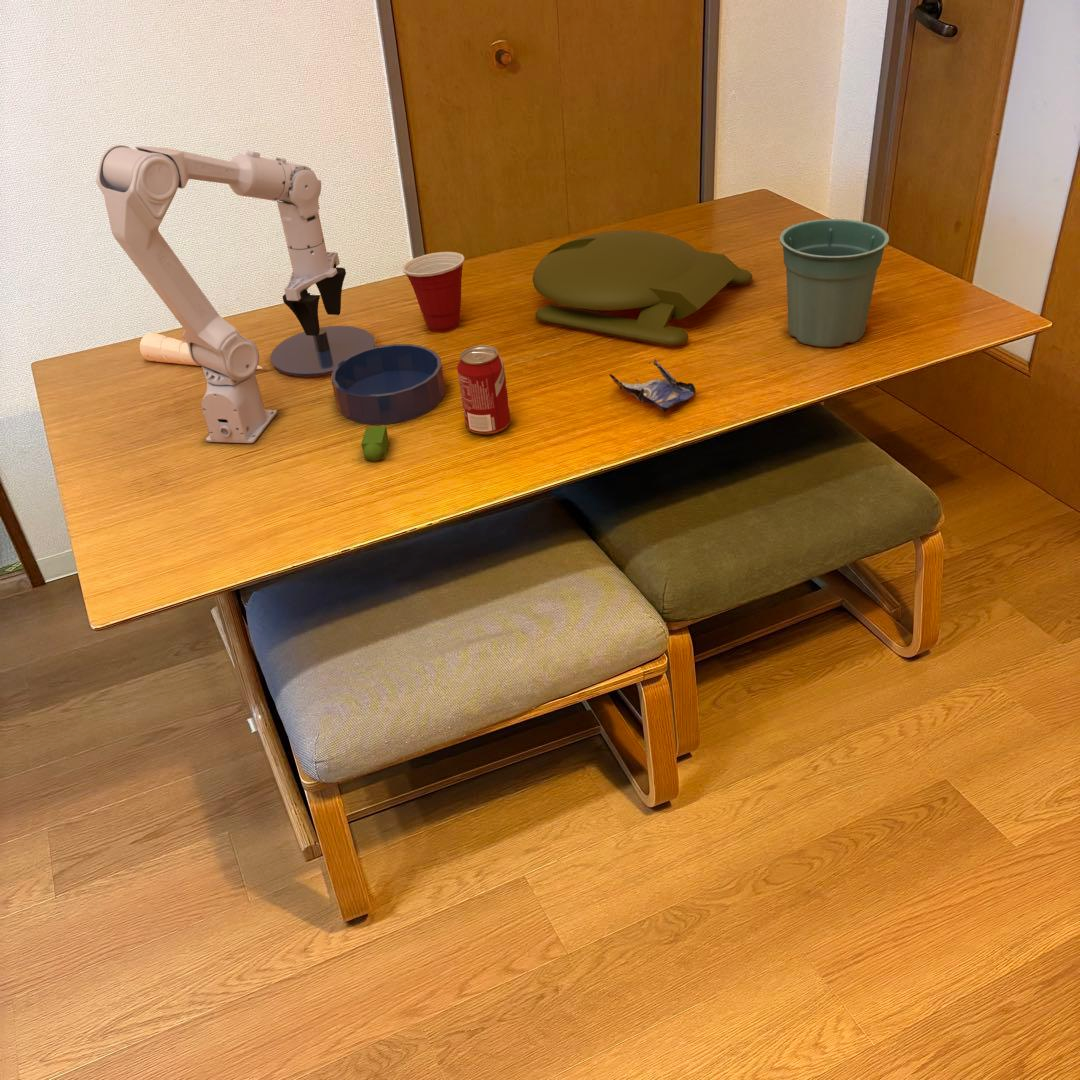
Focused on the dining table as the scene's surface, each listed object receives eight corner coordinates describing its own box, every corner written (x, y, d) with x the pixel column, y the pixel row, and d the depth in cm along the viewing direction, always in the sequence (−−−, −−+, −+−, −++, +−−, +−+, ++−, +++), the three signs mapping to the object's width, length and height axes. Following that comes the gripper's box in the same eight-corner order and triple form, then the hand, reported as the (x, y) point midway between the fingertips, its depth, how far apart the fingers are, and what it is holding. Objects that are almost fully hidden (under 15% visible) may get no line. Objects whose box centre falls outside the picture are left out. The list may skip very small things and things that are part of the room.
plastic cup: (446, 306, 199) (436, 243, 192) (485, 321, 193) (477, 256, 186) (400, 328, 194) (388, 264, 186) (439, 344, 187) (428, 278, 180)
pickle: (383, 463, 157) (380, 447, 155) (363, 465, 157) (359, 448, 156) (390, 437, 163) (387, 421, 161) (370, 438, 163) (367, 422, 161)
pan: (427, 426, 165) (422, 397, 162) (321, 423, 168) (315, 394, 165) (457, 372, 178) (453, 344, 175) (359, 370, 182) (353, 343, 179)
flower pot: (826, 301, 187) (833, 209, 178) (901, 332, 175) (912, 235, 166) (754, 331, 180) (757, 237, 171) (826, 365, 169) (834, 266, 159)
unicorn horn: (250, 381, 182) (243, 355, 179) (142, 364, 191) (133, 339, 188) (267, 368, 185) (260, 342, 182) (160, 352, 194) (151, 327, 192)
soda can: (494, 441, 159) (485, 368, 152) (457, 432, 162) (446, 359, 155) (519, 420, 164) (511, 347, 157) (482, 411, 167) (473, 340, 160)
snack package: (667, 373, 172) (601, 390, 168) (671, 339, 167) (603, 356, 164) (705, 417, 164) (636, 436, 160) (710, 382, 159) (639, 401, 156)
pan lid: (355, 380, 179) (350, 357, 176) (255, 378, 183) (248, 355, 180) (389, 331, 193) (385, 309, 190) (295, 330, 197) (290, 308, 194)
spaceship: (756, 280, 196) (758, 227, 191) (680, 353, 176) (679, 296, 171) (589, 255, 213) (586, 205, 207) (502, 318, 193) (495, 266, 187)
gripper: (307, 262, 161) (325, 345, 169) (349, 226, 172) (364, 306, 180) (265, 260, 163) (285, 343, 171) (309, 224, 174) (326, 304, 182)
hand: (323, 324), depth 175 cm, fingers open, 7 cm apart
